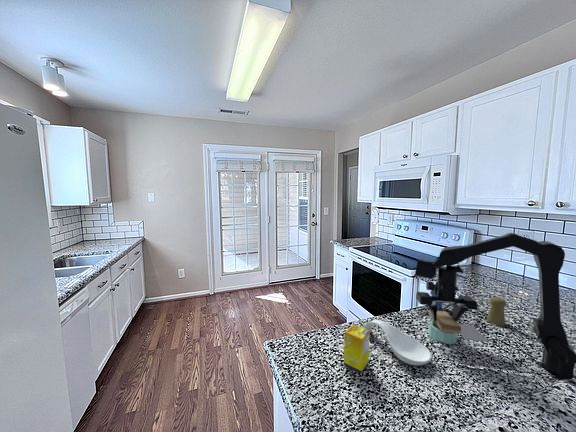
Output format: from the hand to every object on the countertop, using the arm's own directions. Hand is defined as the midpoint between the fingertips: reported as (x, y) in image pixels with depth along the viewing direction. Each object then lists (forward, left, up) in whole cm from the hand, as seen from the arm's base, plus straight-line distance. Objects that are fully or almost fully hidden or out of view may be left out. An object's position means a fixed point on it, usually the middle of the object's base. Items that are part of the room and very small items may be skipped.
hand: (443, 322), depth 90 cm
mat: (+6, -11, -6) cm, 14 cm away
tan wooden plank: (0, 0, 0) cm, 1 cm away
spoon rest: (-11, +20, -7) cm, 24 cm away
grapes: (+23, -7, -6) cm, 25 cm away
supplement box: (-22, +33, -6) cm, 40 cm away
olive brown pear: (+17, -27, -6) cm, 32 cm away
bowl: (0, 0, -6) cm, 6 cm away
